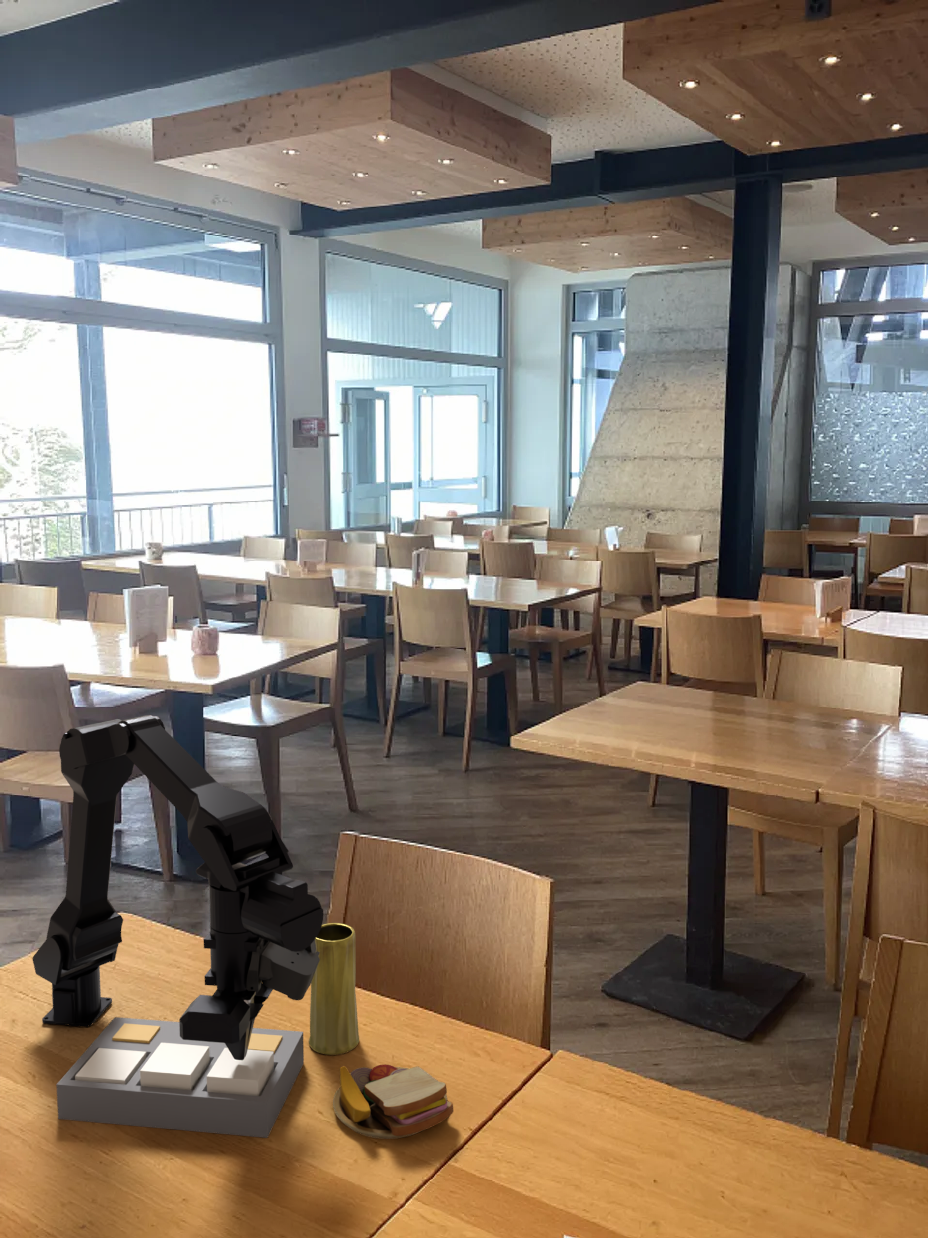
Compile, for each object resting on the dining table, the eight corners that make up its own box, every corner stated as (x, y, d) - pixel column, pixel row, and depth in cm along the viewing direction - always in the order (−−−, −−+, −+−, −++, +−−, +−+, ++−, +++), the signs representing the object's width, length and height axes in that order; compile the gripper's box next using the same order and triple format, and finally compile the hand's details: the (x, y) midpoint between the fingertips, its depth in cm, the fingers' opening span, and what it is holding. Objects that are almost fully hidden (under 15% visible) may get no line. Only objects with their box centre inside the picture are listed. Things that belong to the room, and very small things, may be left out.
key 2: (225, 1068, 119) (224, 1047, 118) (273, 1072, 118) (273, 1051, 118) (207, 1098, 113) (206, 1076, 113) (258, 1102, 112) (257, 1080, 112)
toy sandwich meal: (422, 1067, 125) (422, 1029, 124) (468, 1133, 113) (469, 1092, 112) (319, 1091, 120) (318, 1052, 119) (356, 1163, 108) (356, 1120, 107)
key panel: (58, 1119, 114) (56, 1082, 113) (116, 1048, 128) (114, 1014, 127) (267, 1138, 111) (266, 1100, 111) (303, 1063, 125) (303, 1029, 124)
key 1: (99, 1068, 121) (98, 1048, 120) (146, 1072, 120) (146, 1051, 119) (76, 1097, 115) (75, 1076, 115) (125, 1101, 114) (124, 1080, 114)
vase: (350, 1059, 126) (349, 945, 124) (301, 1052, 127) (299, 940, 125) (365, 1032, 132) (364, 923, 130) (318, 1026, 133) (317, 918, 131)
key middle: (161, 1063, 119) (161, 1042, 119) (209, 1067, 119) (209, 1046, 118) (140, 1092, 114) (140, 1071, 114) (191, 1096, 113) (190, 1075, 113)
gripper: (285, 969, 103) (287, 1117, 105) (332, 891, 121) (333, 1019, 123) (175, 961, 104) (179, 1107, 106) (238, 885, 122) (241, 1012, 125)
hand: (240, 1058), depth 115 cm, fingers closed
